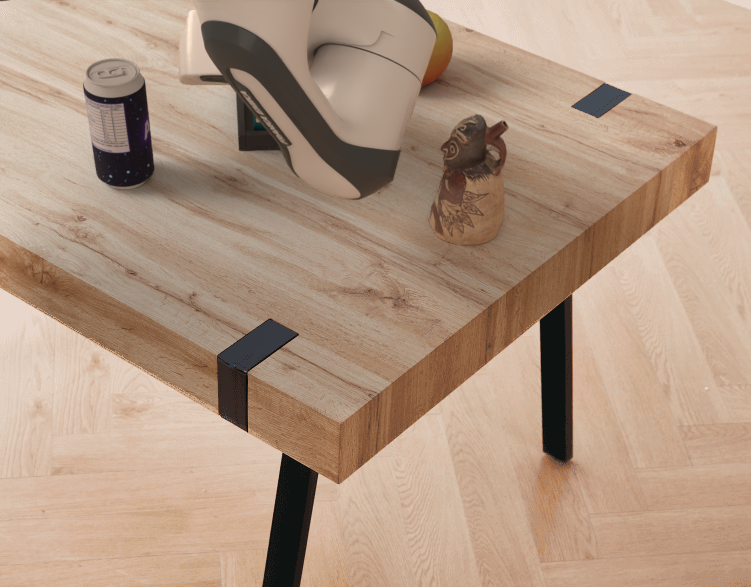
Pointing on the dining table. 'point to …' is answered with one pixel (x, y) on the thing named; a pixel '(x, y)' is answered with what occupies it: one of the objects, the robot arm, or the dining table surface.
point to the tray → (251, 131)
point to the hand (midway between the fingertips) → (280, 81)
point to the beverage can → (119, 123)
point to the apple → (439, 50)
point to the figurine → (471, 184)
